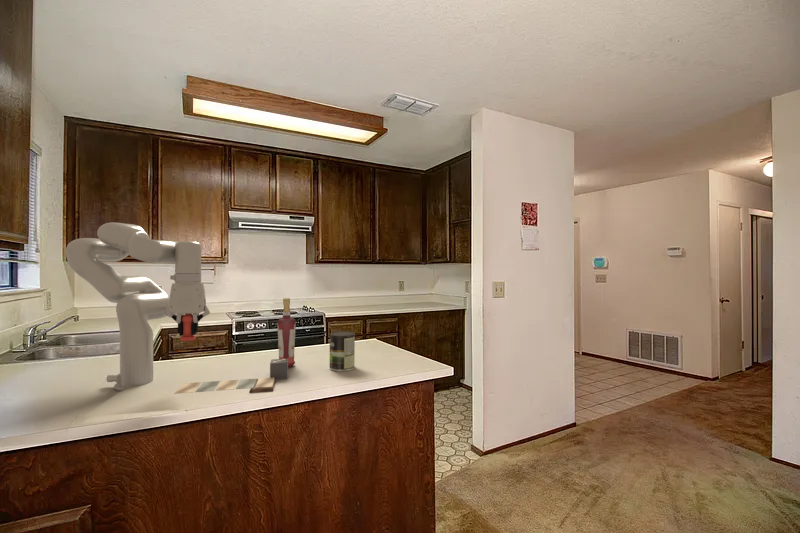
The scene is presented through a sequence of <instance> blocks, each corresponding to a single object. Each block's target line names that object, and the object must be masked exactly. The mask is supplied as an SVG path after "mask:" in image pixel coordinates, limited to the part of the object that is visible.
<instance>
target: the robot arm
mask: <svg viewBox="0 0 800 533" xmlns="http://www.w3.org/2000/svg"><path fill="white" fill-rule="evenodd" d="M97 237H98V238H96V237H94V238H93V237H82V238H76V239H74V240H72V241H70V242H69V243H68V244H67V246H66V248H65V256H66V260H67V263H68V265H69V267H70V269H72V271H73V272H74V273H75V274H77V275H78V276H79V277H80V278H82V279H84V281H85V282H88V284H89V285H91V286H92V287H93V288H94V290H96V291H97V292H98V293H99V294H100V295H101V296H102V297H103V298H105V299H106V300H107V301H108V302H110V303H113V304H116V305H115V312H116V317H117V320H118V321H117V322H118V328H119V373H118V374H108V375H107V376H106V382H107V383H112V382H115V384H114V385H113V386H114V390H115V391H119V392H122V391H124V390H125V389H126V388H128V387H137V386H144V385H147V384H149V383H152V382H153V381H154V332H153V329H152V327H151V324H149V322H148V321H151V320H158V319H162V318H165V317H169V318H172V320H174V321H175V323H177V333H178V335H179V336H180V337H181V336H183V322H182V317H183V315H185V314H192V315H193V323H192V335H195V336H196V335H197V333H198V332H199V322H200V321H201V320H202V319H203V318H204V317H206V316H208V315H210V314H211V312H210V311H211V310H210V309H209V308H208V307H207V299H206V291H205V290H206V289H205V286H204V282H202V244H201V243H200V242H197V241H190V240H189V241H188V240H187V241H183V240H182V241H175V240H174V241H172V240H162V239H161V240H160V239H151V238H150V236H149V234H148V233H147V232H146V231H145V230H144V229H143V228H142V227H141V226H140V225H137V224H133V223H123V222H106V223H104V224H102V225H100V226H99V228H98V229H97ZM128 256H129V257H131V258H132V259H135V260H138V261H142V262H145V263H150V264H168V265H169V264H170V265H171V264H172V265H173V264H174V265H175V266H174V269H175V270H174V274H173V275H169V276H170V277H169V278H170V280H173V281H174V282H172V283H171V287H170V292H169V294H167V293H166V291H164V290H163V289H162V288H161V287H160V286H158V285H157V284H156V283H155V282H154V281H153V280H152V279H150V278H148V277H146V276H142V275H124V274H123V275H122V274H120V273H119V272H118V271H117V270H116V269H115V268H114V267H112V266H111V265H109V264H107V263H113V262H114V263H116V262H120V261H122V260H123V259H125V258H127V257H128Z"/></svg>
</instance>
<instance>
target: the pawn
mask: <svg viewBox="0 0 800 533" xmlns="http://www.w3.org/2000/svg"><path fill="white" fill-rule="evenodd" d="M182 322H183V335H182V336H180V338H179V341H180V342H192V341H193V342H194V341H195V340H197V339H196V334H195V335H192V323H193V314H184V315H183V317H182Z"/></svg>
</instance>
